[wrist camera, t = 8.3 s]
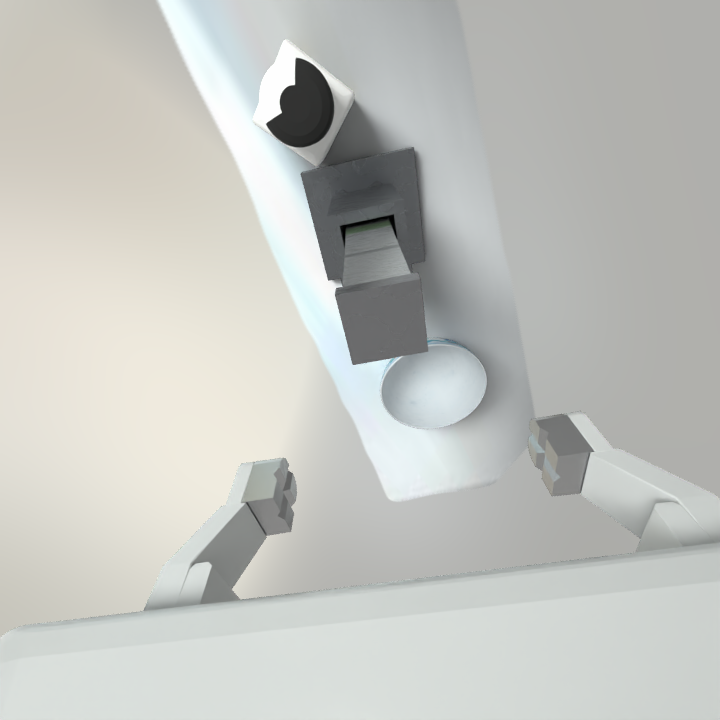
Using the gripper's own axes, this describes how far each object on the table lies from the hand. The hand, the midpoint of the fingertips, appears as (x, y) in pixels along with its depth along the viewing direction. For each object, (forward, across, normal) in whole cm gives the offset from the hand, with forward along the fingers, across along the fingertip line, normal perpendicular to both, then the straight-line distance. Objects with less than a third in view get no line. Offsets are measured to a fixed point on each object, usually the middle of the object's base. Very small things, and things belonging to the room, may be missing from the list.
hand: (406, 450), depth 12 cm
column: (+32, 0, 0) cm, 32 cm away
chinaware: (+39, -5, +23) cm, 46 cm away
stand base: (+39, 0, 0) cm, 39 cm away
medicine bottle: (+39, +4, -12) cm, 41 cm away
